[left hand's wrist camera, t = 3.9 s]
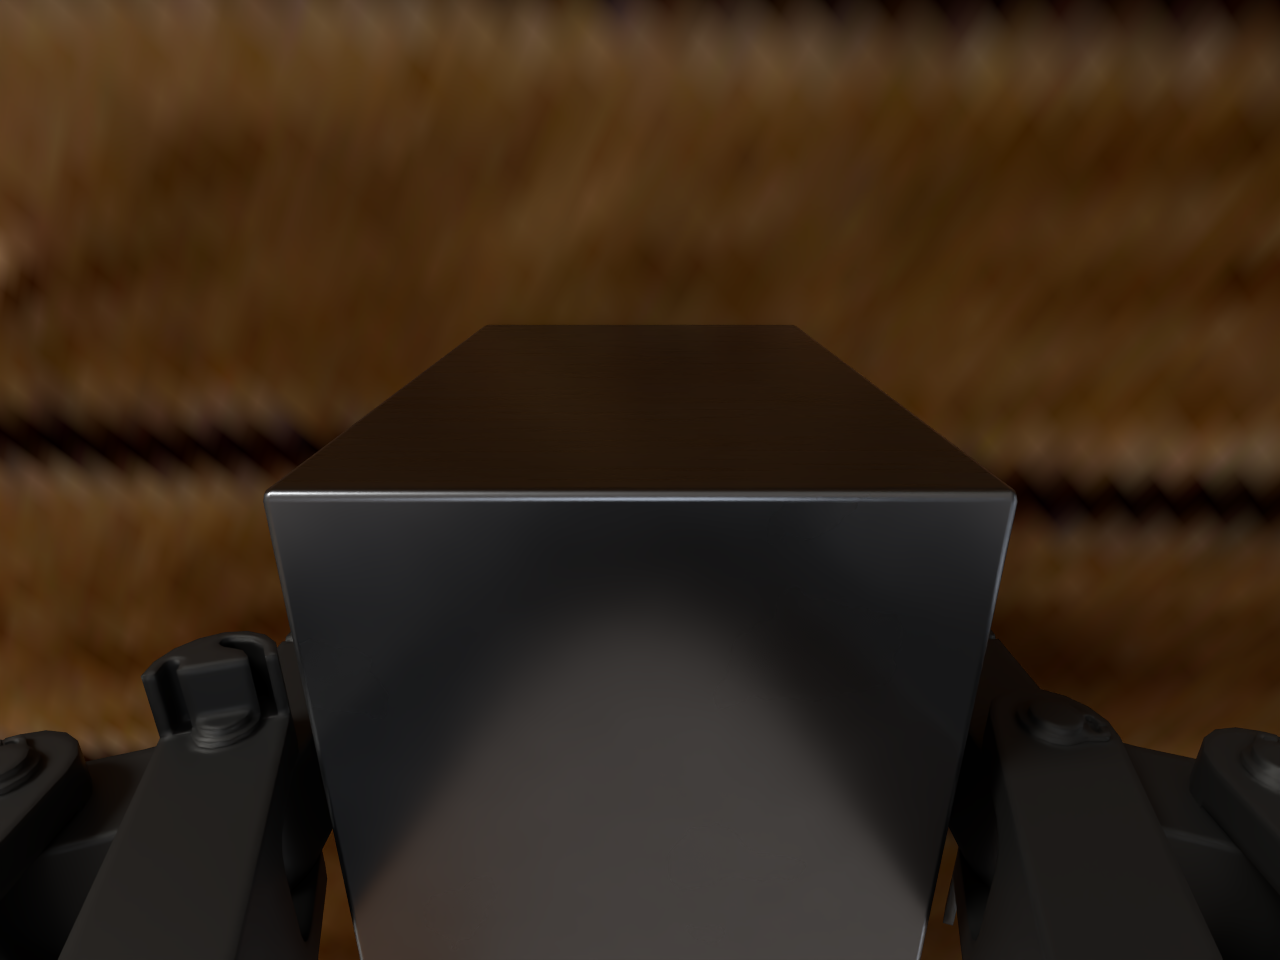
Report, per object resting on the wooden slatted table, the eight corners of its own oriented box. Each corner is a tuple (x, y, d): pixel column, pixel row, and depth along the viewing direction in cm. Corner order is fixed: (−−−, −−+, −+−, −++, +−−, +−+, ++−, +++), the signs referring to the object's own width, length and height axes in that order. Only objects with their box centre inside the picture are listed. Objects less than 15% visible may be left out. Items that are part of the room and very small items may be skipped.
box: (483, 324, 13) (255, 490, 5) (797, 324, 13) (1026, 491, 5) (542, 1058, 21) (485, 1556, 13) (737, 1058, 21) (795, 1556, 13)
